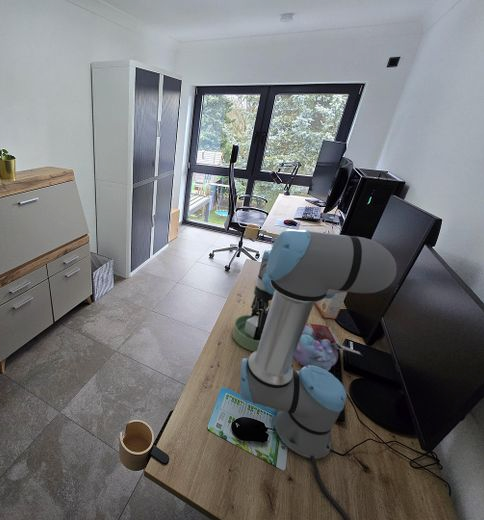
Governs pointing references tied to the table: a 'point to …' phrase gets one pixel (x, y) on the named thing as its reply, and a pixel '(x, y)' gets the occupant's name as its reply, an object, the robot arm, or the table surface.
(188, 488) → the table surface
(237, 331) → the bowl
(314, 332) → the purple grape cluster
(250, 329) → the white cube
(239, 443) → the table surface
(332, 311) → the cracker box
